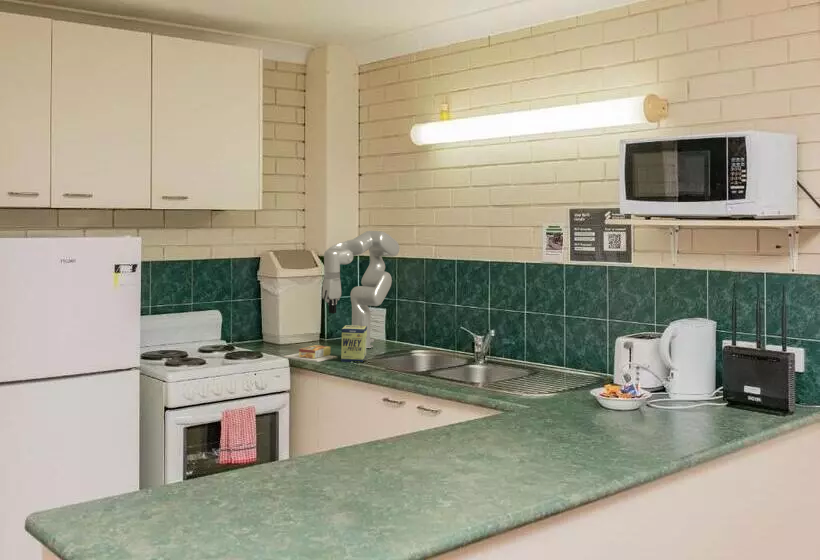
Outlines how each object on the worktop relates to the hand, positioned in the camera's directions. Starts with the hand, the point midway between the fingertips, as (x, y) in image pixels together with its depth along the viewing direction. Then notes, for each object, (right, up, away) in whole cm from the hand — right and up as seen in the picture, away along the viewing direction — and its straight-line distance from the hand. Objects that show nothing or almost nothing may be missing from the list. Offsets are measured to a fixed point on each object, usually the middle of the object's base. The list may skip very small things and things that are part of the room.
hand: (332, 313), depth 441 cm
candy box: (-4, -17, -5) cm, 19 cm away
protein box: (+11, -22, -16) cm, 29 cm away
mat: (-9, -21, -13) cm, 26 cm away
